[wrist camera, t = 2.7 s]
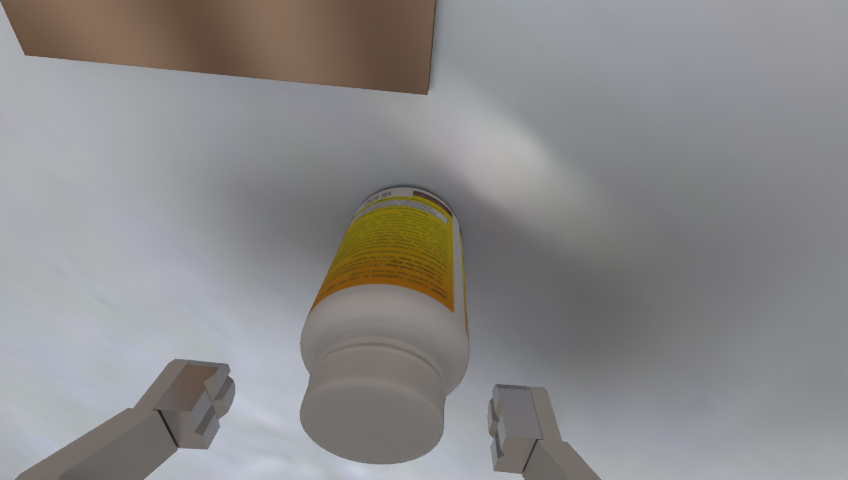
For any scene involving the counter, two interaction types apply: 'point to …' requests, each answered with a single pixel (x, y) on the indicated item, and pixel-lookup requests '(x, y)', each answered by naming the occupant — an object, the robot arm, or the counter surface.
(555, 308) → the counter surface
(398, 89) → the walnut board
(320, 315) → the supplement bottle
